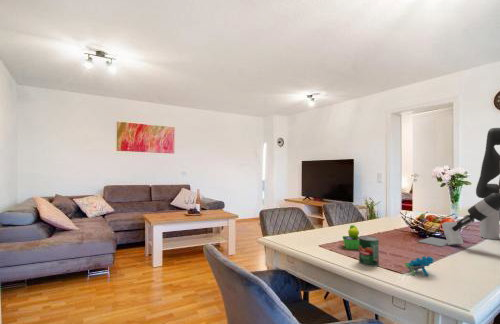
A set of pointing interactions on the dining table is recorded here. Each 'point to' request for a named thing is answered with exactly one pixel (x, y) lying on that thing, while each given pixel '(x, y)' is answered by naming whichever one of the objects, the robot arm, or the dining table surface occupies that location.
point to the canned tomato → (369, 250)
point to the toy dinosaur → (419, 264)
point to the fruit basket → (352, 238)
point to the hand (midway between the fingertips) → (453, 229)
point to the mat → (434, 241)
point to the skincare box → (452, 234)
